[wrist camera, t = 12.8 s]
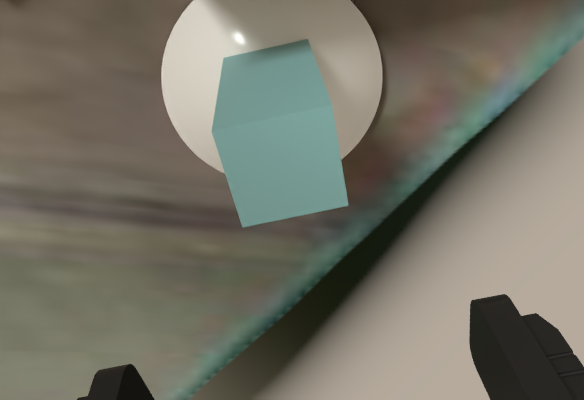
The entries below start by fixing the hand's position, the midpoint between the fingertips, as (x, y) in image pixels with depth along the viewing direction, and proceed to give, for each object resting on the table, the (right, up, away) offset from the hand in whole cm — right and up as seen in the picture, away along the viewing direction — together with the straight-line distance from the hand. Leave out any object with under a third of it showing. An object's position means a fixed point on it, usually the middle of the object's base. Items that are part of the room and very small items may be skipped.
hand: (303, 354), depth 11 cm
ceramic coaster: (-1, +10, +15) cm, 18 cm away
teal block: (-1, +10, +15) cm, 18 cm away
